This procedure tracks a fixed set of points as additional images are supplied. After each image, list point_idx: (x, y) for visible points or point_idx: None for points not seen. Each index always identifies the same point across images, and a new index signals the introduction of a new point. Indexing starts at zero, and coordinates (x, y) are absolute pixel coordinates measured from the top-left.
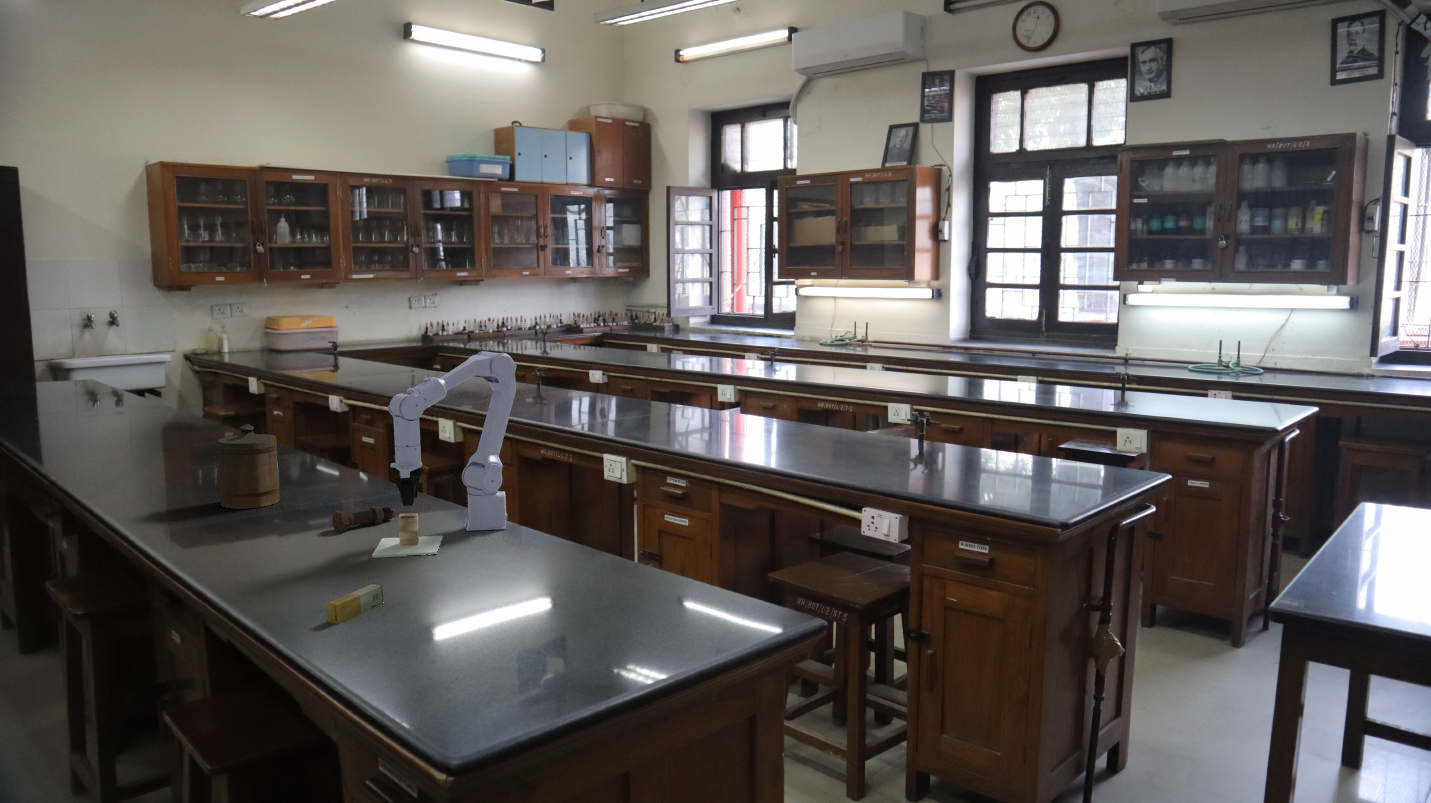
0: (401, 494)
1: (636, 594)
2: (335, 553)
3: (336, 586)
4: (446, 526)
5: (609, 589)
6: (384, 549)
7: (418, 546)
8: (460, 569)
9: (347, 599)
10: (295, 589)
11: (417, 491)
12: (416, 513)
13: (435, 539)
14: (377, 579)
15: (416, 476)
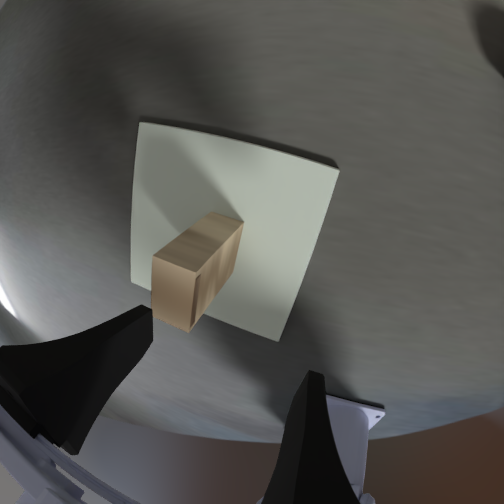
0: (89, 332)
1: None
2: (229, 11)
3: (24, 81)
4: (396, 370)
5: None
6: (184, 160)
7: None
8: (63, 283)
9: None
10: (34, 20)
11: (286, 426)
12: (183, 326)
13: (243, 316)
14: (33, 145)
15: (63, 447)
